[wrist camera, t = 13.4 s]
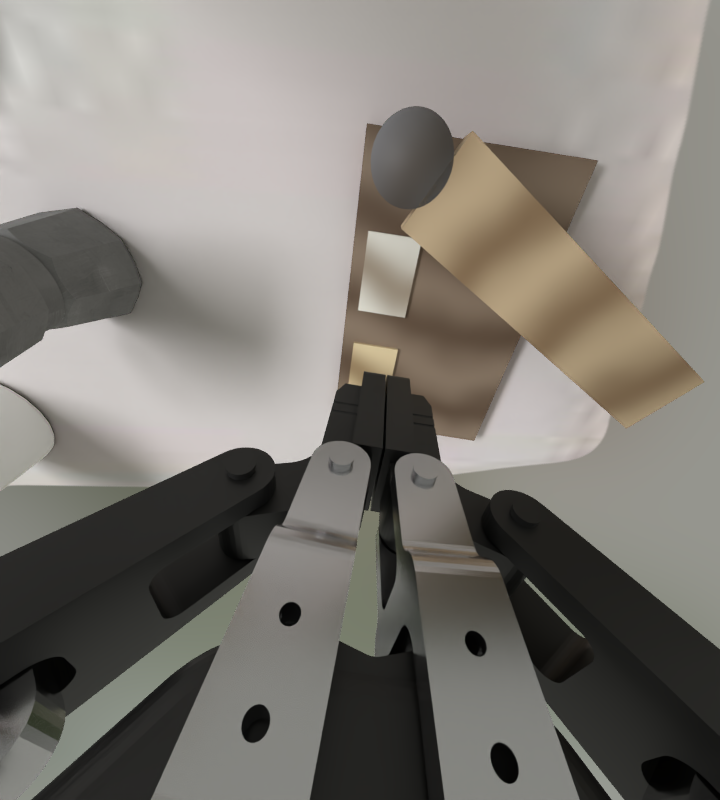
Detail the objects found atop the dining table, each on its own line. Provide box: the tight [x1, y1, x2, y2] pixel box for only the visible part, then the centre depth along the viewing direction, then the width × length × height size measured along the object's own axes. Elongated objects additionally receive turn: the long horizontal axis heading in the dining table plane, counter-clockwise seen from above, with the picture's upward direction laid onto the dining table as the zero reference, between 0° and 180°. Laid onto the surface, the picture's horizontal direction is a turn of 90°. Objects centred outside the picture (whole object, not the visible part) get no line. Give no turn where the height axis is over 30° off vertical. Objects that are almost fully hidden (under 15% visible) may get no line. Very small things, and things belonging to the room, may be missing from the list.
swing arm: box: [371, 106, 704, 428], centre depth 19 cm, size 24×5×2 cm, turn 53°
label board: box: [338, 124, 598, 441], centre depth 26 cm, size 24×15×6 cm, turn 172°
